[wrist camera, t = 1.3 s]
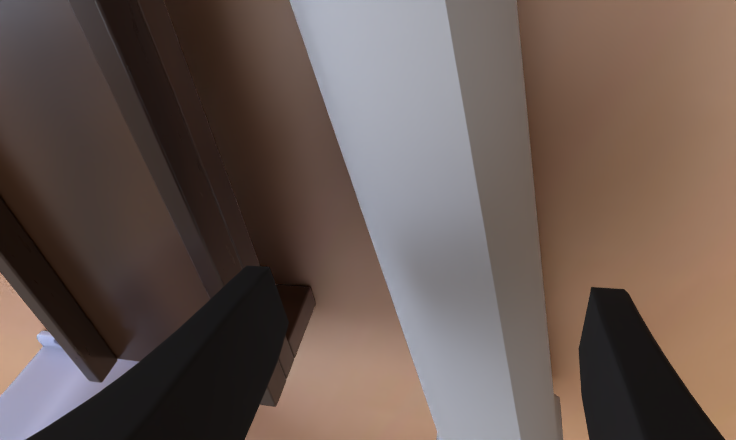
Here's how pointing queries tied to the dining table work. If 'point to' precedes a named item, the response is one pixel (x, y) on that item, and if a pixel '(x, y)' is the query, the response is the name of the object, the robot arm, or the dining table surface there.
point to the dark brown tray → (115, 184)
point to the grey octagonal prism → (446, 197)
